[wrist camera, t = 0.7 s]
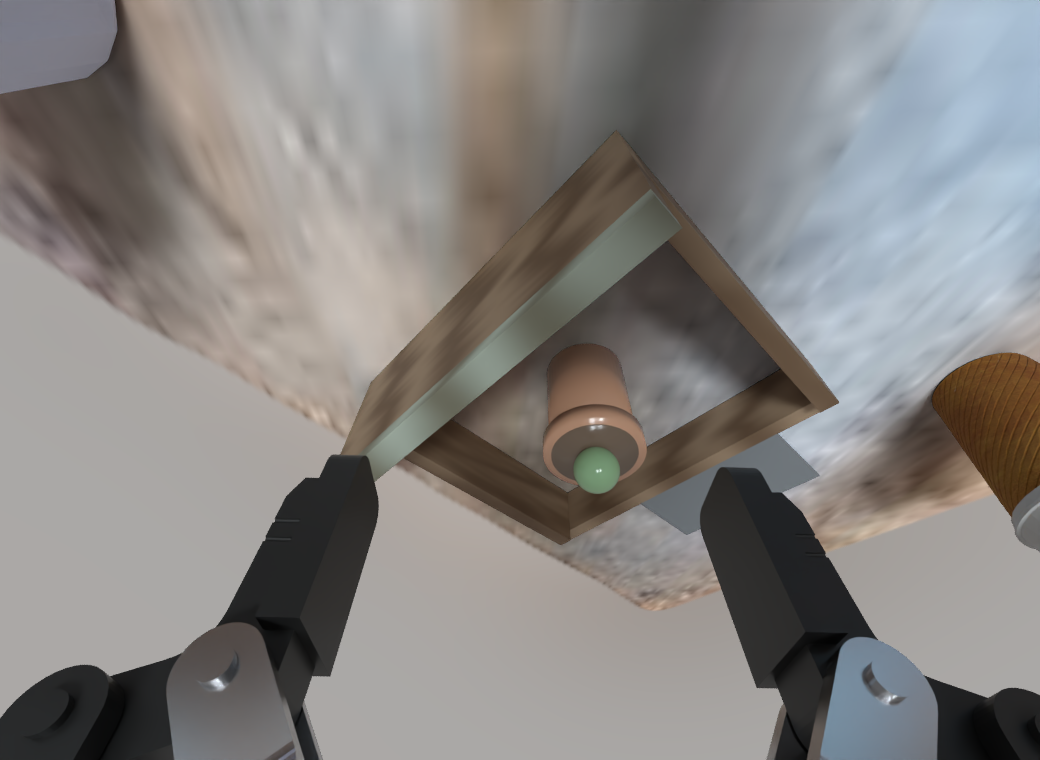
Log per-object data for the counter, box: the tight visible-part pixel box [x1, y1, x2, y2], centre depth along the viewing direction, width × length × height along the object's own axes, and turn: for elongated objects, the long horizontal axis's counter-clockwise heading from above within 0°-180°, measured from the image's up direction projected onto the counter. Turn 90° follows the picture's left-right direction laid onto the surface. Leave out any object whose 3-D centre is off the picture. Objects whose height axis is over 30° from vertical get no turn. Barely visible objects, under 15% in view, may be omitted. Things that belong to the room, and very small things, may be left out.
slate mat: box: [641, 434, 819, 535], centre depth 42 cm, size 14×12×1 cm
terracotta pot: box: [543, 344, 647, 494], centre depth 31 cm, size 6×6×11 cm
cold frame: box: [340, 130, 839, 545], centre depth 31 cm, size 24×23×11 cm
